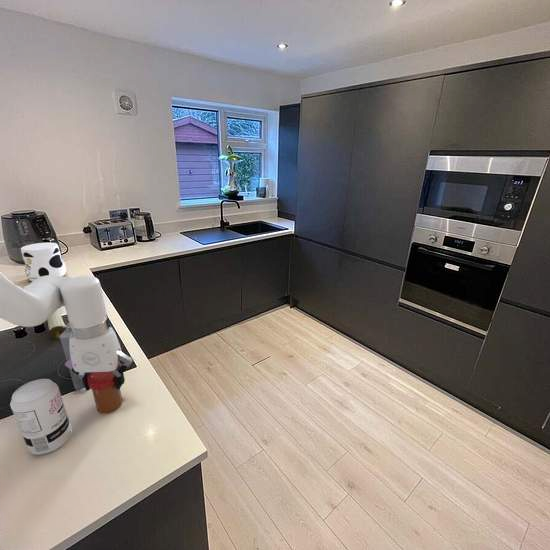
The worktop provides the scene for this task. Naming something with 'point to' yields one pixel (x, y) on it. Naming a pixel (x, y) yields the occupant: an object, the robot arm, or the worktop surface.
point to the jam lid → (100, 380)
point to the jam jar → (107, 399)
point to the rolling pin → (56, 325)
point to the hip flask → (65, 344)
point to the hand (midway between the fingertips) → (105, 385)
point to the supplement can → (41, 415)
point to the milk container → (42, 260)
